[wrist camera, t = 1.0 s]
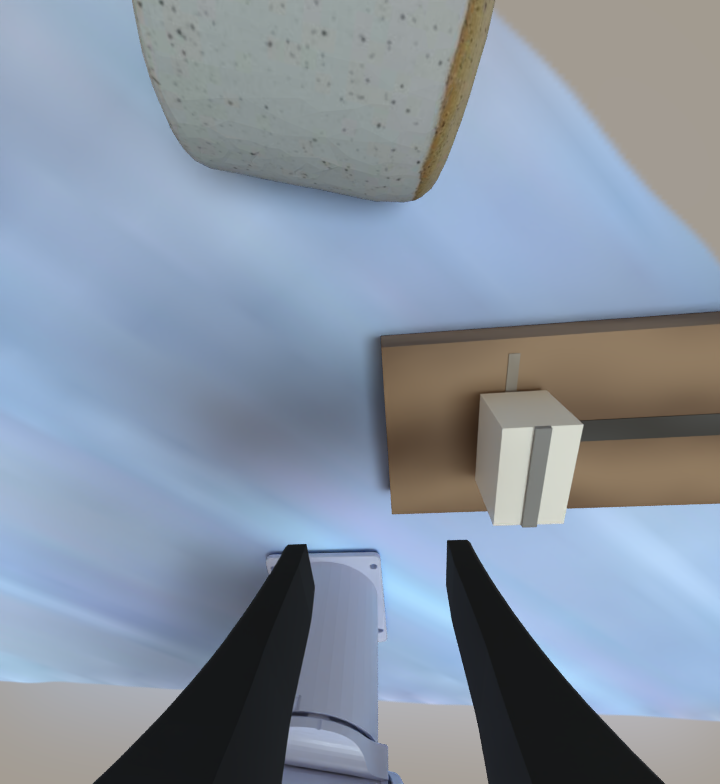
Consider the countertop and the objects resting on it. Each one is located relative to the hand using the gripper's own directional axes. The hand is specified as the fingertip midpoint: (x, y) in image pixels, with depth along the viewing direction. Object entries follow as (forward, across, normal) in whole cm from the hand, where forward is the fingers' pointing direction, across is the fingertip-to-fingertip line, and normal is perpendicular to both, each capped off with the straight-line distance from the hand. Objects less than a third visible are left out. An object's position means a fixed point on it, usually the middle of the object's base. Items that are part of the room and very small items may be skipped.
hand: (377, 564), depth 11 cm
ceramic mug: (+10, 0, -16) cm, 19 cm away
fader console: (+9, -12, 0) cm, 16 cm away
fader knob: (+7, -7, 0) cm, 10 cm away
